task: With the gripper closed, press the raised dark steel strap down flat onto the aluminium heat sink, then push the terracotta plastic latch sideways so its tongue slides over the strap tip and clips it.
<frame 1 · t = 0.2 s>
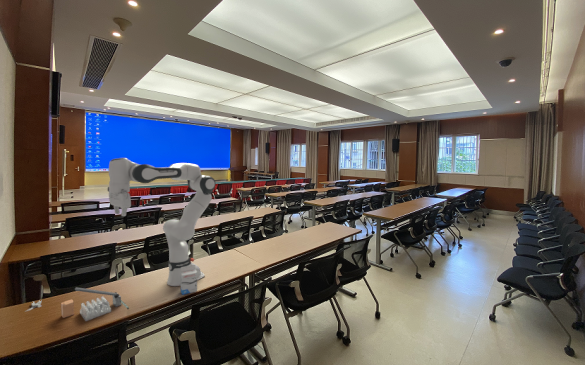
hand: (120, 214, 132), 47 cm above the table, fingers open, 8 cm apart
board: (95, 313, 124), on the table
latch: (68, 308, 120), point 5 cm above the table, slide at 0.0 cm
pliers: (35, 310, 127), on the table
ink box: (189, 291, 147), on the table
heatsink: (101, 305, 125), on the board, point 3 cm above the table
strap: (98, 292, 123), point 11 cm above the table, hinge at 30.0°
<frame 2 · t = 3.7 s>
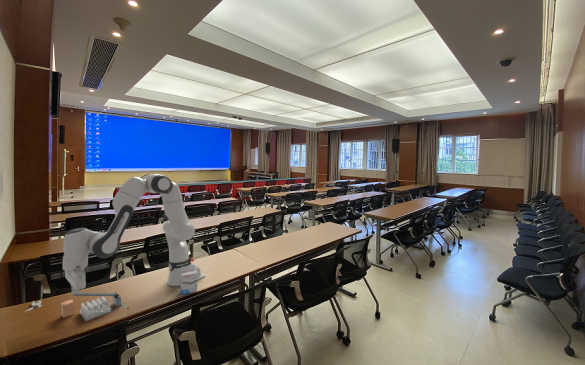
hand: (74, 292, 116), 14 cm above the table, fingers closed, pressing on strap
strap: (96, 294, 123), point 10 cm above the table, hinge at 22.9°, touching gripper
everything else where it was.
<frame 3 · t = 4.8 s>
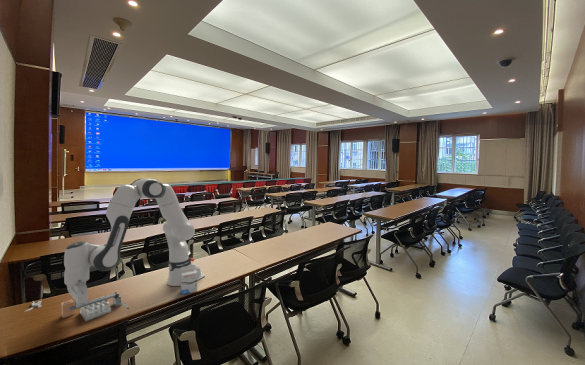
hand: (77, 306, 117), 7 cm above the table, fingers closed, pressing on strap
strap: (95, 301, 123), point 7 cm above the table, hinge at 1.9°, touching gripper
everything else where it was.
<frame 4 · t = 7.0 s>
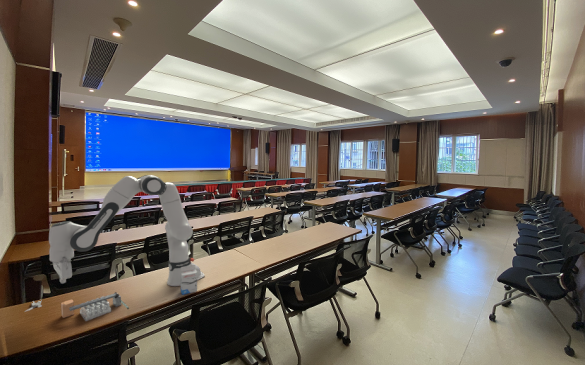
hand: (63, 282, 124), 15 cm above the table, fingers closed
strap: (95, 301, 123), point 7 cm above the table, hinge at 1.8°
everything else where it was.
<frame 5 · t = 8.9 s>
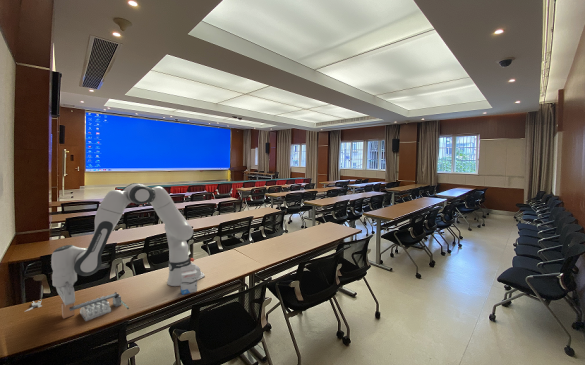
hand: (66, 306, 123), 4 cm above the table, fingers closed
latch: (68, 309, 119), point 5 cm above the table, slide at 0.7 cm, touching gripper
everything else where it was.
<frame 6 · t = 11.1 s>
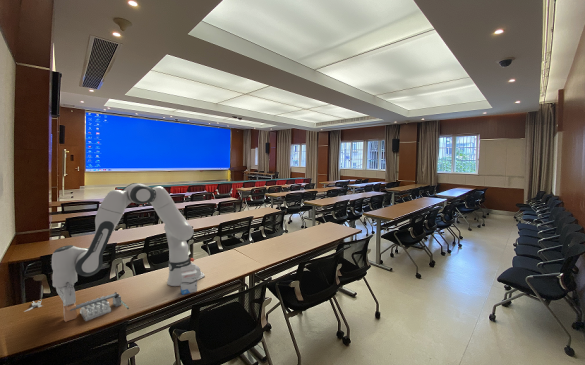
hand: (66, 307, 122), 4 cm above the table, fingers closed
latch: (70, 312, 117), point 5 cm above the table, slide at 4.5 cm
everything else where it was.
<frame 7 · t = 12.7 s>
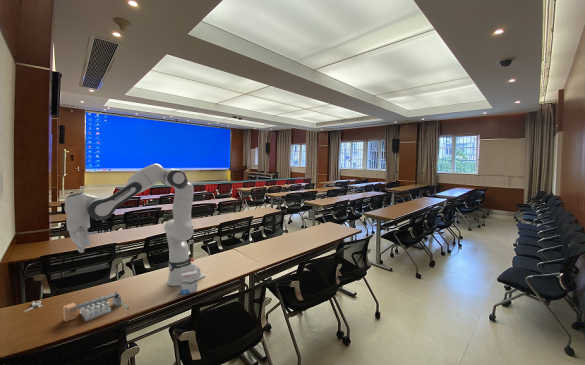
hand: (81, 252, 126), 30 cm above the table, fingers closed
nothing on the table moved.
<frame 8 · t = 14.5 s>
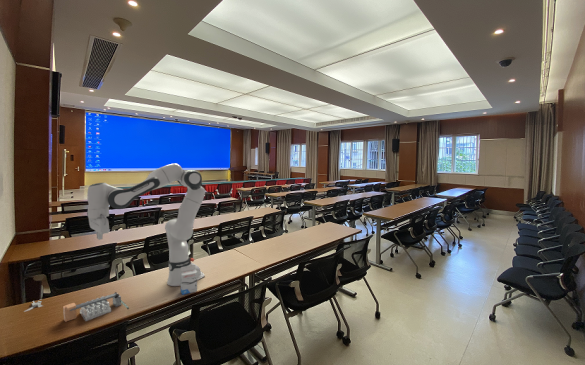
hand: (99, 238, 134), 34 cm above the table, fingers closed
nothing on the table moved.
at the end: strap at +2° (first picture: +30°); latch slide at 4.5 cm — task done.
